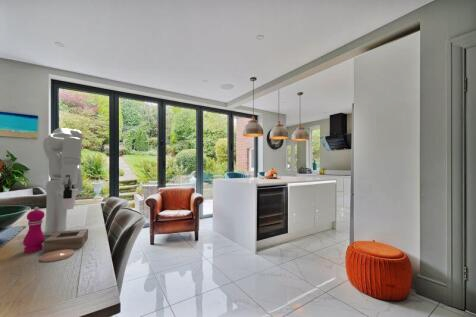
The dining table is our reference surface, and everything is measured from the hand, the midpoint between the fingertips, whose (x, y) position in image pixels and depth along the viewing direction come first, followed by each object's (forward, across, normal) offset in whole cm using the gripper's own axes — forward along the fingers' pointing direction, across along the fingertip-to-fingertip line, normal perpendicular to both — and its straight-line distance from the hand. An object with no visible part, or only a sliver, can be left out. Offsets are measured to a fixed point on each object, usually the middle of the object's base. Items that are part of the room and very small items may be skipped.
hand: (69, 197), depth 103 cm
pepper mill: (+24, 0, -12) cm, 27 cm away
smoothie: (+6, 0, 0) cm, 6 cm away
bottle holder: (+24, -3, 0) cm, 24 cm away
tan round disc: (+24, +13, 0) cm, 27 cm away
